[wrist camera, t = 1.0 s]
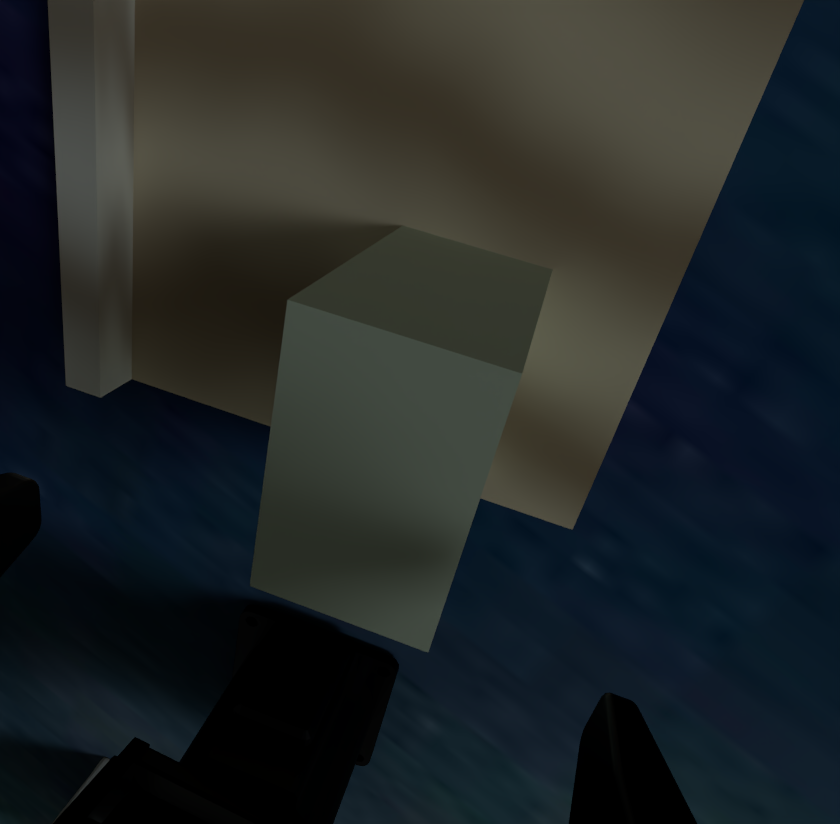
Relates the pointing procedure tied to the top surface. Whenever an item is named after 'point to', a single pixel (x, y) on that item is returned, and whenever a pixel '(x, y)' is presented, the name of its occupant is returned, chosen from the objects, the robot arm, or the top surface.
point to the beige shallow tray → (394, 183)
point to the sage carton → (390, 427)
